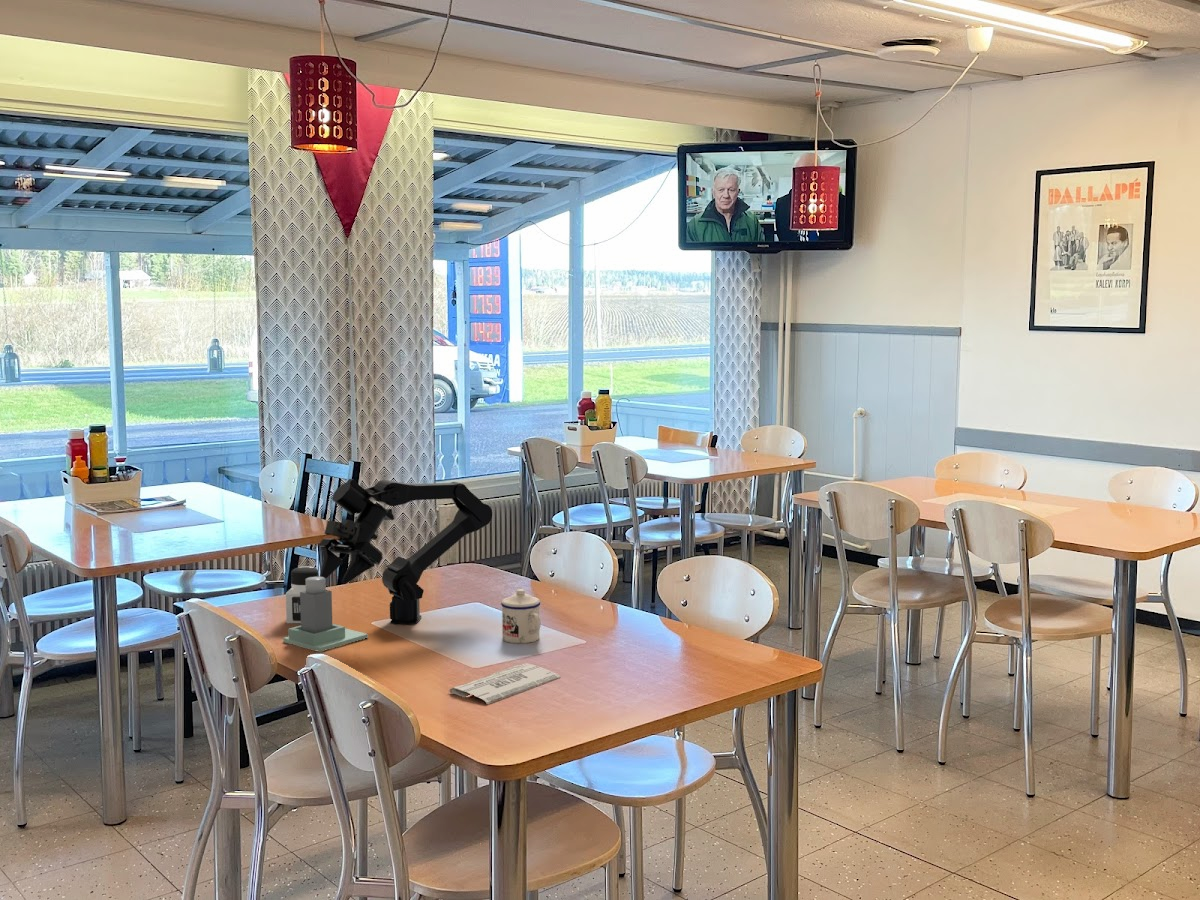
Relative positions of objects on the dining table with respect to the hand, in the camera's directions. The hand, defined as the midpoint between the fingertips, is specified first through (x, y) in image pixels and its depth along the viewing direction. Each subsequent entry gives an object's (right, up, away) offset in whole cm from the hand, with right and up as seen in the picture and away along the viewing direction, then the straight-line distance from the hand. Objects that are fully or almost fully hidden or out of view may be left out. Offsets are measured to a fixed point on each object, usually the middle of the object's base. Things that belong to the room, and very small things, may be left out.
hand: (332, 581), depth 270 cm
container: (-10, -12, +17) cm, 23 cm away
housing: (-1, -14, -1) cm, 14 cm away
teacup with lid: (+45, -14, 0) cm, 47 cm away
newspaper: (+42, -18, -32) cm, 56 cm away
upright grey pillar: (-3, -13, -3) cm, 13 cm away
